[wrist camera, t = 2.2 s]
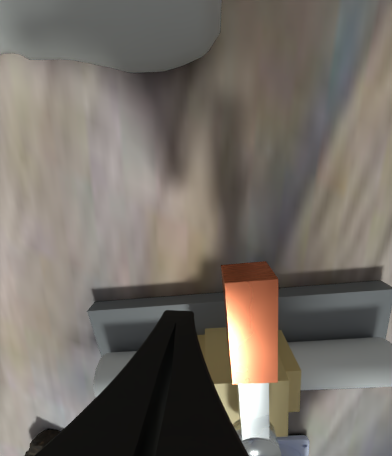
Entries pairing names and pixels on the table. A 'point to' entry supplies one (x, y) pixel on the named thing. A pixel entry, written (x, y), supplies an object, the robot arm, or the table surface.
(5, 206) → the table surface
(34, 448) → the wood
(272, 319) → the valve lever
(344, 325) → the valve stand
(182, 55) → the screwdriver
